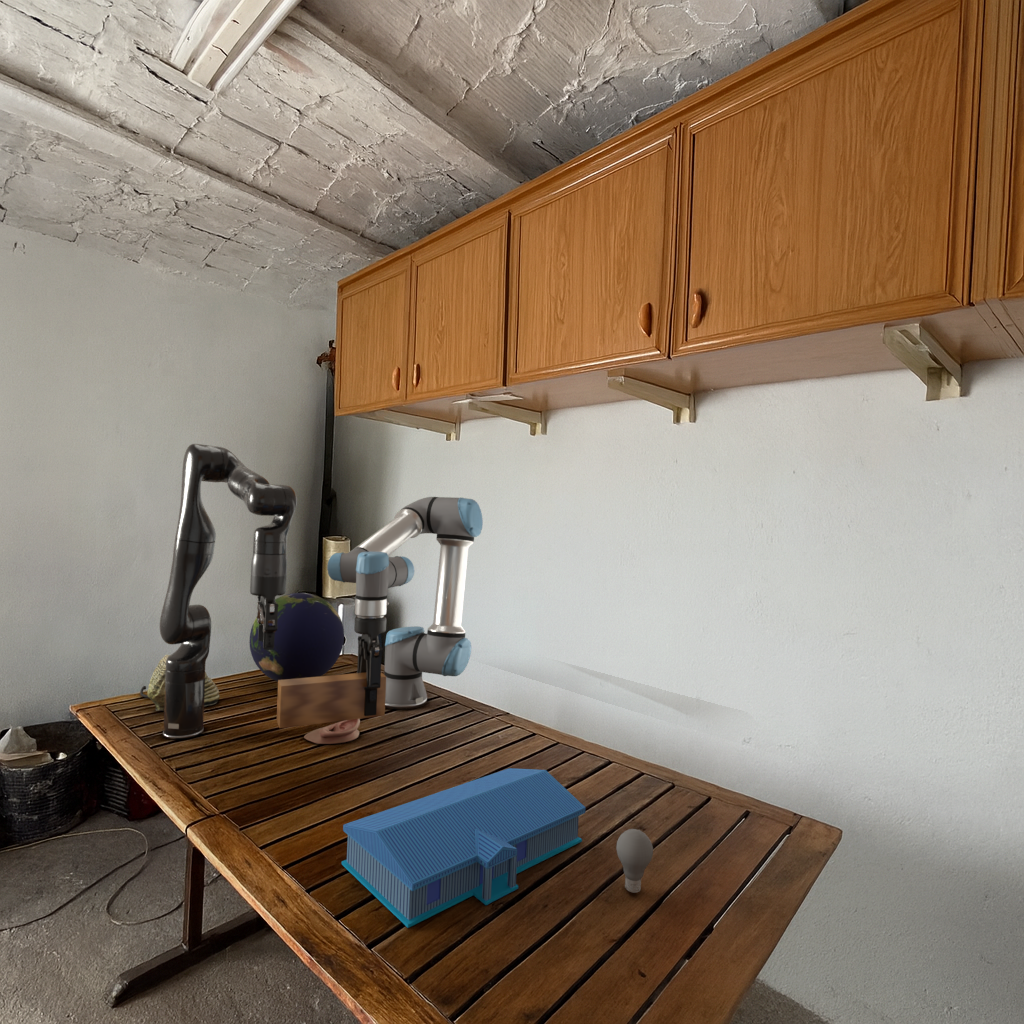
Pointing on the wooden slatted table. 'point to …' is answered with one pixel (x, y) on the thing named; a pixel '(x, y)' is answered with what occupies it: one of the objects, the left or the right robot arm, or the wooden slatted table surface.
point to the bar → (325, 699)
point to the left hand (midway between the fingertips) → (265, 644)
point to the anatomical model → (335, 732)
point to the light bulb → (634, 857)
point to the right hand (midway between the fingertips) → (367, 710)
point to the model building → (462, 842)
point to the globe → (300, 639)
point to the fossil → (158, 687)
